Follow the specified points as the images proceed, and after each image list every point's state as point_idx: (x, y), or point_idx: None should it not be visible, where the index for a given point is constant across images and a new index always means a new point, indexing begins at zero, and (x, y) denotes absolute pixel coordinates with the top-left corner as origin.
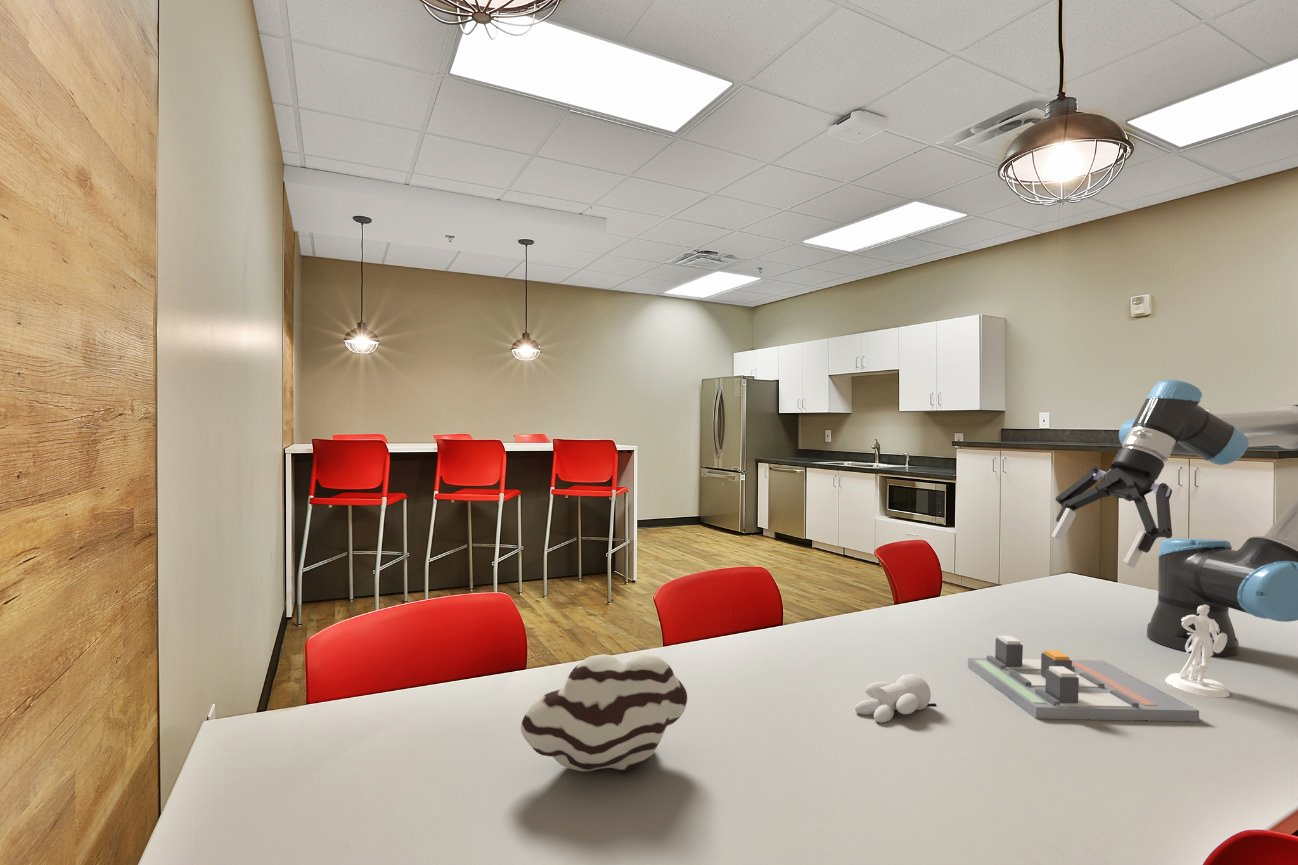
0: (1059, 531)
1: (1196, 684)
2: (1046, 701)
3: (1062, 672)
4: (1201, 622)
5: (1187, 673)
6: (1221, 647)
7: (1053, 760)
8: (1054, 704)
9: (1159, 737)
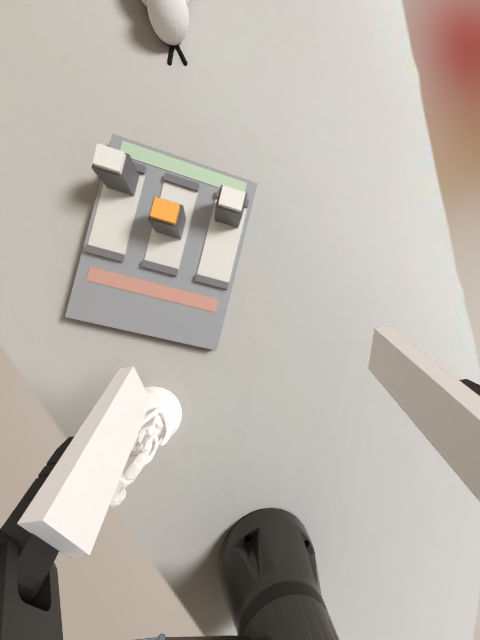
0: (392, 354)
1: None
2: None
3: (100, 148)
4: None
5: (165, 424)
6: None
7: (33, 75)
8: None
9: (52, 234)
